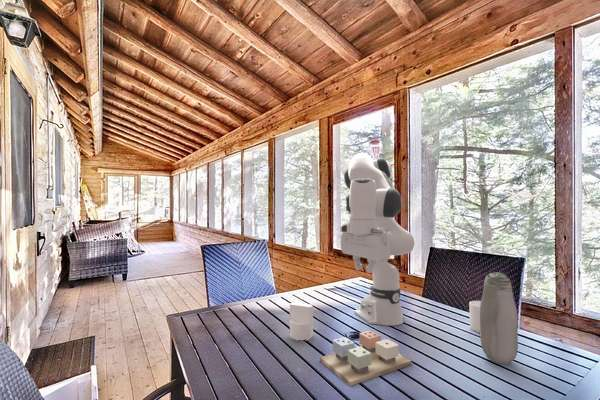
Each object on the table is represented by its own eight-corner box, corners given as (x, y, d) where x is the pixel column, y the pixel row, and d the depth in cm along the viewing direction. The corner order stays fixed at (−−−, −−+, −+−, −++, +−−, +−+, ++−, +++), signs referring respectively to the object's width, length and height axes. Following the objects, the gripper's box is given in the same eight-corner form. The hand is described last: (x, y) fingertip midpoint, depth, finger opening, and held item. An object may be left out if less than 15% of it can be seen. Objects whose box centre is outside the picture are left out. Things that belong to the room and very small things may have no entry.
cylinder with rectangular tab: (316, 333, 122) (316, 302, 122) (307, 342, 114) (307, 309, 114) (296, 329, 126) (295, 299, 126) (285, 338, 117) (285, 306, 118)
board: (320, 360, 100) (319, 349, 100) (376, 344, 111) (376, 334, 111) (350, 386, 86) (350, 373, 86) (411, 364, 97) (411, 352, 97)
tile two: (347, 361, 94) (347, 349, 94) (360, 357, 96) (360, 346, 96) (358, 369, 89) (358, 356, 89) (371, 365, 92) (371, 352, 92)
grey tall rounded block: (519, 372, 92) (517, 278, 92) (480, 363, 97) (478, 274, 98) (517, 358, 100) (515, 271, 101) (481, 350, 106) (479, 268, 106)
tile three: (332, 350, 101) (332, 339, 101) (345, 347, 103) (345, 336, 103) (341, 357, 96) (341, 345, 96) (354, 353, 99) (354, 342, 99)
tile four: (359, 343, 106) (359, 332, 106) (370, 340, 108) (370, 329, 108) (369, 349, 101) (369, 338, 101) (380, 345, 104) (380, 335, 104)
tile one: (375, 353, 99) (375, 341, 99) (387, 349, 101) (387, 338, 101) (386, 360, 94) (386, 348, 94) (398, 356, 97) (398, 344, 97)
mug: (501, 339, 115) (500, 311, 115) (476, 337, 117) (476, 309, 117) (489, 326, 126) (488, 301, 127) (467, 325, 128) (466, 300, 128)
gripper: (394, 229, 92) (395, 276, 91) (351, 225, 110) (352, 264, 109) (378, 230, 89) (379, 279, 88) (337, 226, 107) (337, 266, 107)
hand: (364, 271), depth 99 cm, fingers open, 4 cm apart
